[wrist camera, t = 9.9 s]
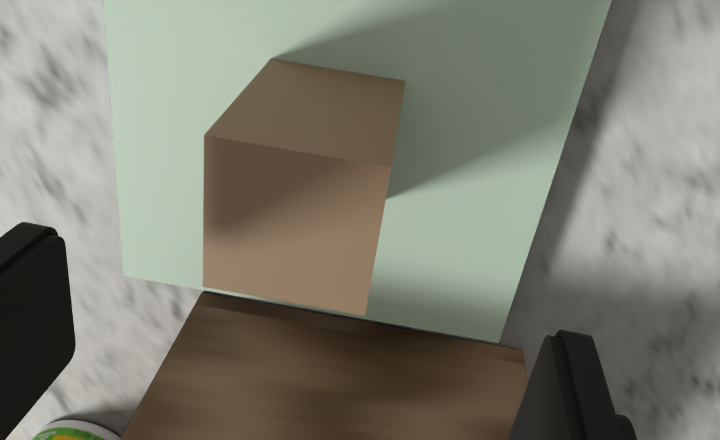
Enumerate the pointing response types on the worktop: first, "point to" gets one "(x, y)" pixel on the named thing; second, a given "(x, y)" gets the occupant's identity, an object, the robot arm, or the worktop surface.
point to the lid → (344, 148)
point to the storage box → (324, 380)
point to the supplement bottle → (74, 431)
